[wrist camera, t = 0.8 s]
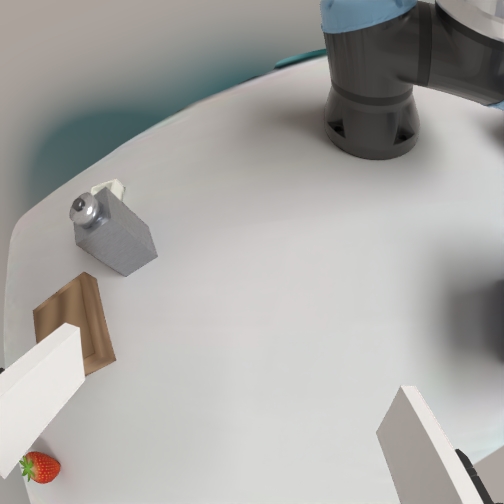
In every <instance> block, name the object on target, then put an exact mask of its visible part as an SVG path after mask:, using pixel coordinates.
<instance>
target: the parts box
mask: <svg viewBox="0 0 504 504" xmlns="http://www.w3.org/2000/svg"><path fill="white" fill-rule="evenodd" d="M105 186H106V187H107V188H108V189H109V190H110V191H111V192H112V193H113V194H114V195H115V196H116V197H117V198H118V199H119V200H120V201H122V199H123V195H124V191H125V187H124V186H123V185H122V184H121V183H120V182H119V181H118V180H117V179H113V180H110V181H107V182H104V183H101V184H99V185H96V186H93V187H92V188H91V191H90V193H91V194H92V195H95V194H96V193H97V192H99V191H100V190H101V189H103V188H104V187H105Z"/></svg>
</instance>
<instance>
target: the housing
mask: <svg viewBox="0 0 504 504" xmlns="http://www.w3.org/2000/svg"><path fill="white" fill-rule="evenodd" d="M70 218H71V220H72V221H74V230H75V240H76V245H77V246H79V247H80V248H82V249H83V250H85V251H86V252H88V253H89V254H91V255H92V256H94V257H95V258H97V259H98V260H100V261H102V262H103V263H105V264H106V265H108V266H109V267H111V268H112V269H114V270H116V271H117V272H119V273H120V274H122V275H124V276H125V277H127V276H128V275H130V274H131V273H133V272H134V271H136V270H137V269H139V268H140V267H142V266H144V265H145V264H147V263H148V262H150V261H151V260H153V259H155V258H156V257H158V255H157V252H156V249H155V246H154V243H153V240H152V237H151V234H150V231H149V228H148V226H147V225H146V224H145V223H144V222H143V221H142V220H141V219H139V218H138V217H137V216H136V215H135V214H134V213H133V212H132V211H131V210H130V209H129V208H128V207H127V206H126V205H125V204H124V203H123V202H122V201H120V200H119V199H118V198H117V197H116V196H115V195H114V194H113V193H112V192H111V191H110V190H109V189H108V188H107V187H106V186H105V187H104V188H103V189H101V190H100V191H99V192H97V193H96V194H95V195H92V194H91V193H89V192H87V193H84V194H82V195H80V196H79V197H78V198H77V199H76V200H75V201H74V202H73V205H72V207H71V210H70Z"/></svg>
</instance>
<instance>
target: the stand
mask: <svg viewBox="0 0 504 504" xmlns="http://www.w3.org/2000/svg"><path fill="white" fill-rule="evenodd" d="M33 316H34V326H35V334H36V342H37V344H38V343H39V342H41V341H42V340H43V339H45V338H46V337H47V336H48V335H50V334H51V333H52V332H54V331H55V330H56V329H58V328H59V327H60V326H62V325H63V324H64V323H68V324H71V325H73V326H76V327H79V328H80V337H81V348H82V357H83V366H84V374H85V376H87V375H89V374H91V373H93V372H95V371H97V370H99V369H101V368H103V367H104V366H106V365H108V364H110V363H112V362H114V361H116V358H115V355H114V351H113V348H112V344H111V341H110V337H109V333H108V329H107V325H106V321H105V317H104V313H103V308H102V304H101V299H100V294H99V290H98V285H97V280H96V278H94V277H92V276H91V275H89V274H87V273H86V272H83V273H82V274H80V275H79V276H78V277H76V278H75V279H73V280H72V281H71V282H69V283H68V284H67V285H65V286H64V287H63V288H61V289H60V290H59V291H58V292H56V293H55V294H54V295H52V296H51V297H50V298H48V299H47V300H46V301H45V302H43V303H42V304H41V305H40V306H38V307H37V308H36V309H34V310H33Z"/></svg>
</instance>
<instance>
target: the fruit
mask: <svg viewBox="0 0 504 504" xmlns="http://www.w3.org/2000/svg"><path fill="white" fill-rule="evenodd" d="M23 459H24V462H23V461H20V460H19V462H20V463H21V464H22V465H23V466H24V467H23V469H24V471H23V474H22V476H25V475H26V474H27V473H28V482H29V480H30V478H31V479H33V480H34V481H36V482H38V483H43V484H45V483H48V482H51V481H52V480H53V479H54V478H55V477H56V476H57V475H58V473H59V471H60V464H59V463H58V462H57V461H56V460H55V459H53V458H51V457H49V456H48V455H45V454H43V453H40V452H29V453H28V454H26V456H25V457H24V455H23Z"/></svg>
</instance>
